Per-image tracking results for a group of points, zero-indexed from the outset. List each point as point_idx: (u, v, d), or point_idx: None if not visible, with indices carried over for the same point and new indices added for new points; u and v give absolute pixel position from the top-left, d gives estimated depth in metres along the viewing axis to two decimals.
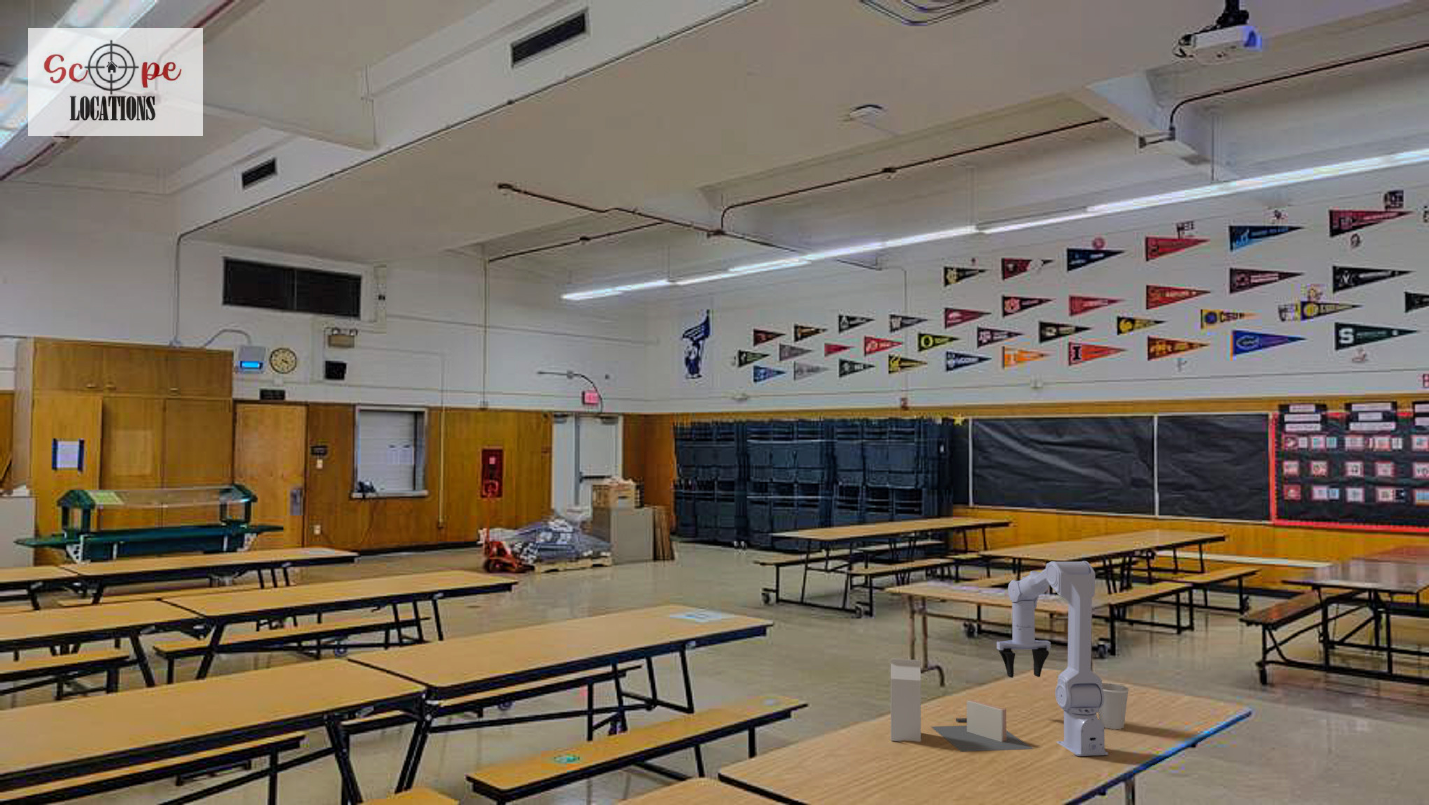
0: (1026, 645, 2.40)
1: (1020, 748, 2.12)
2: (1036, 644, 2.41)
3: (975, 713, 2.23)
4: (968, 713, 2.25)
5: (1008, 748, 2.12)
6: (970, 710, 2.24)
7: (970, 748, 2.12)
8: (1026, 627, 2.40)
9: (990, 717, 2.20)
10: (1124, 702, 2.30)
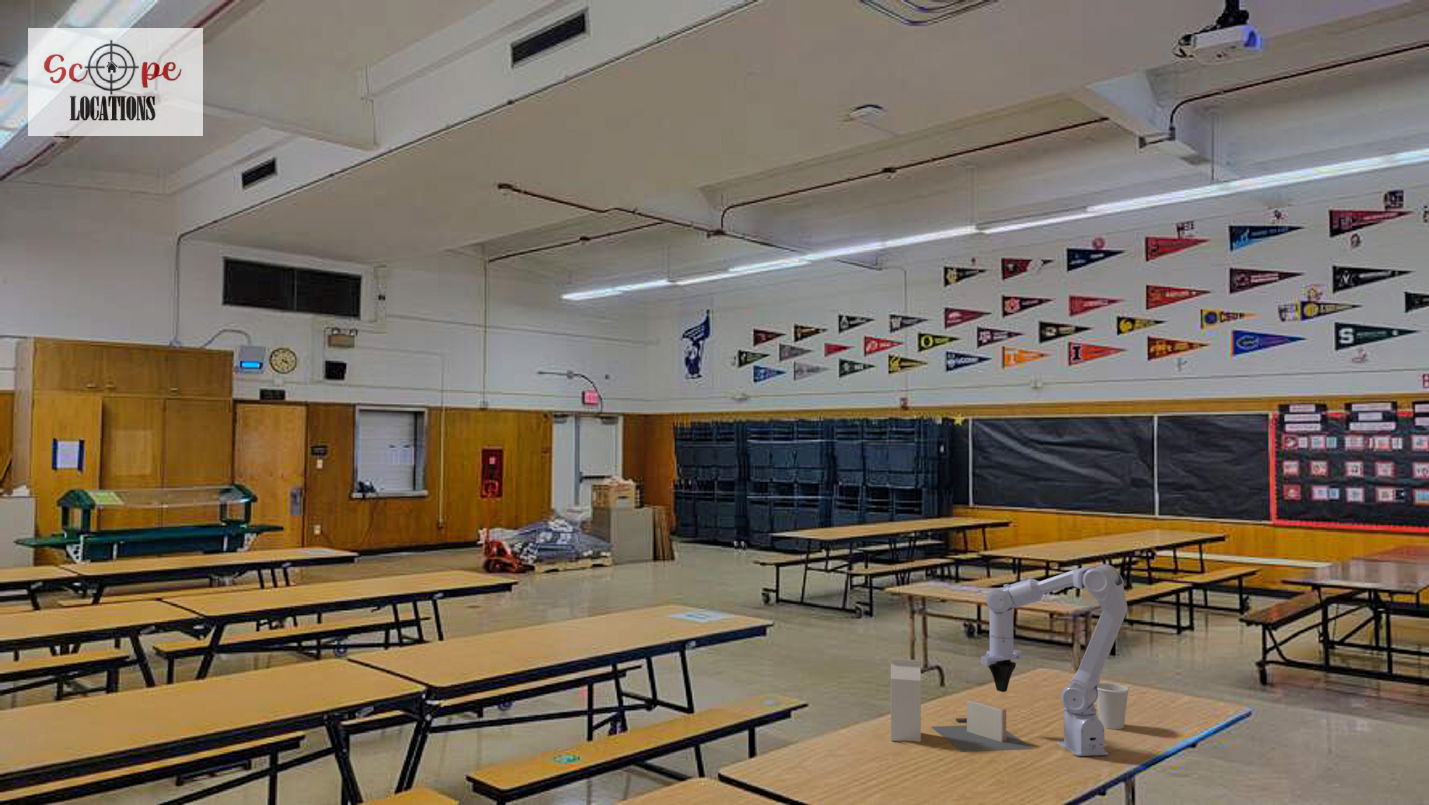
0: (1010, 657, 2.24)
1: (1020, 748, 2.12)
2: (1015, 655, 2.26)
3: (975, 713, 2.23)
4: (968, 713, 2.25)
5: (1008, 748, 2.12)
6: (970, 710, 2.24)
7: (970, 748, 2.12)
8: (1009, 638, 2.24)
9: (990, 717, 2.20)
10: (1124, 702, 2.30)
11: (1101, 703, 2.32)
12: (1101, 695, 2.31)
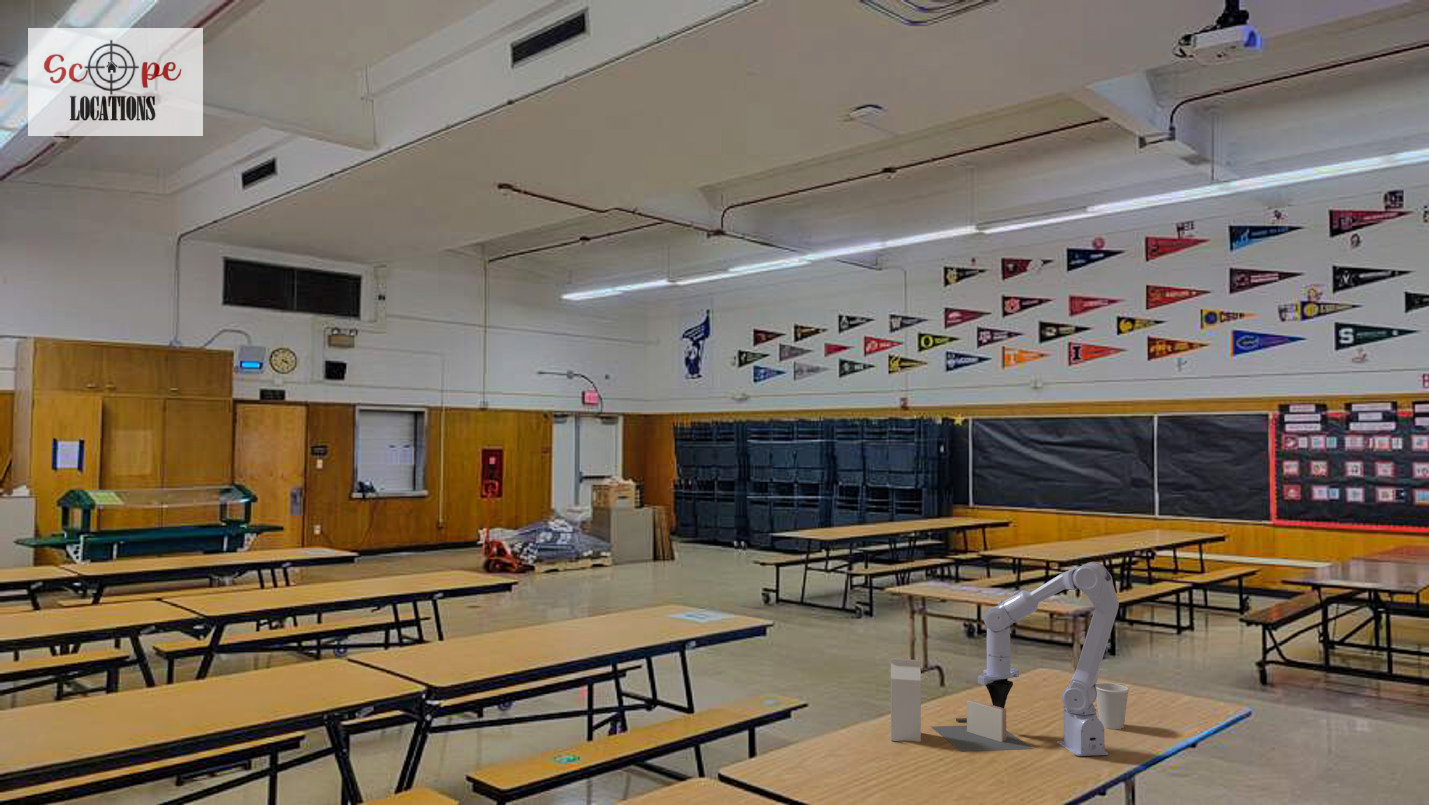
0: (1007, 676, 2.23)
1: (1020, 748, 2.12)
2: (1012, 674, 2.25)
3: (975, 713, 2.23)
4: (968, 713, 2.25)
5: (1008, 748, 2.12)
6: (970, 710, 2.24)
7: (970, 748, 2.12)
8: (1006, 657, 2.23)
9: (990, 717, 2.20)
10: (1124, 702, 2.30)
11: (1101, 703, 2.32)
12: (1101, 695, 2.31)
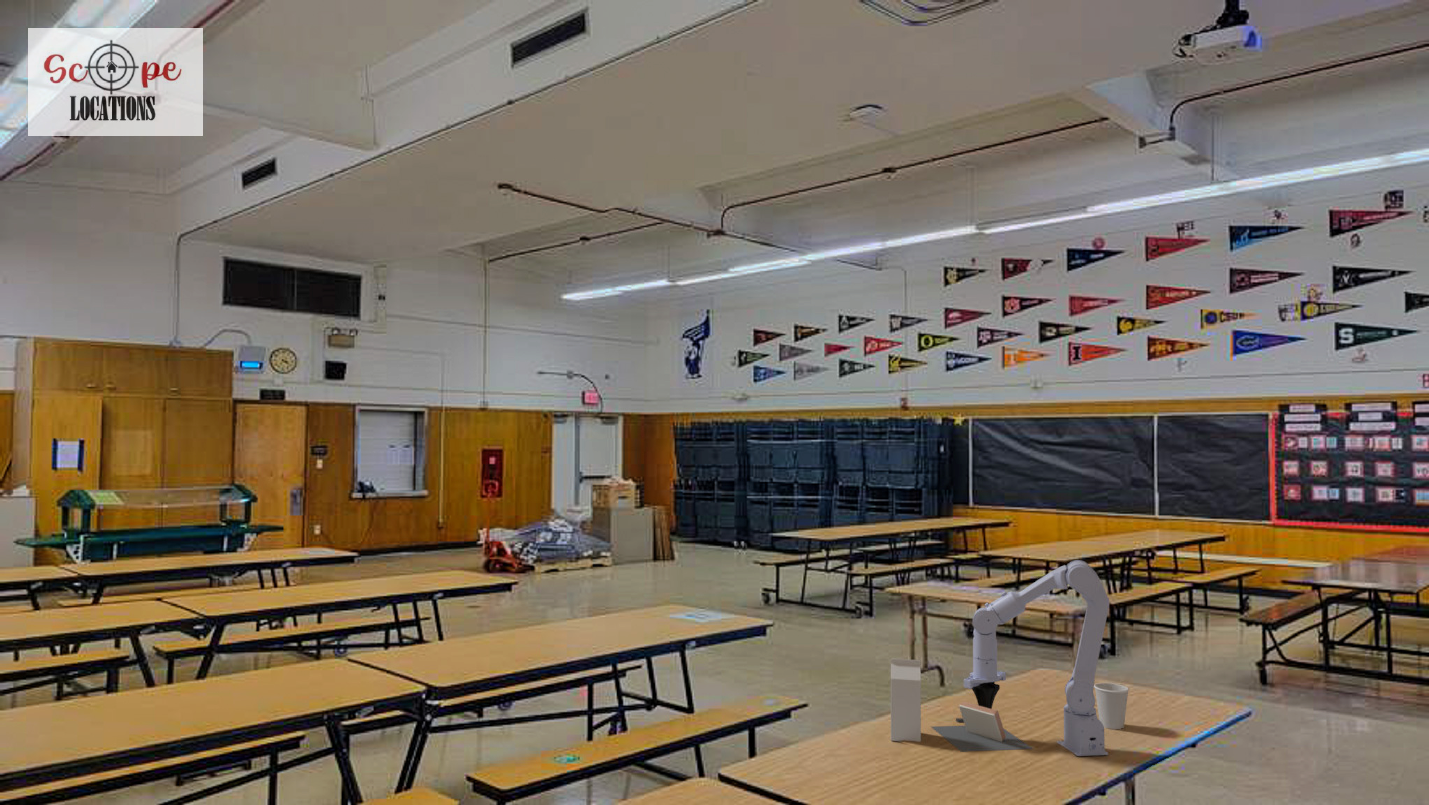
0: (993, 680, 2.19)
1: (1020, 748, 2.12)
2: (999, 677, 2.22)
3: (970, 716, 2.22)
4: (963, 716, 2.24)
5: (1008, 748, 2.12)
6: (964, 714, 2.23)
7: (970, 748, 2.12)
8: (993, 660, 2.20)
9: (985, 721, 2.18)
10: (1124, 702, 2.30)
11: (1101, 703, 2.32)
12: (1101, 695, 2.31)
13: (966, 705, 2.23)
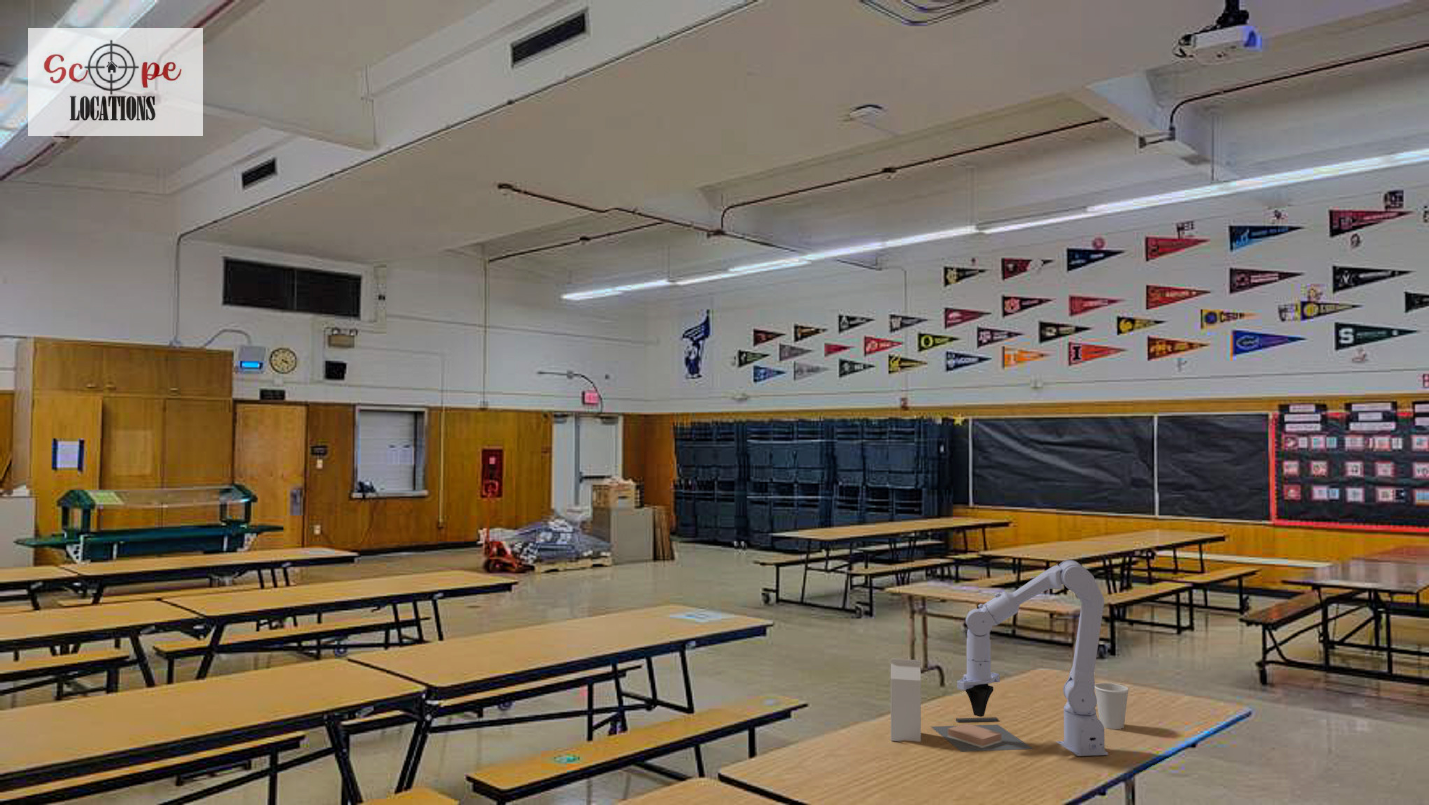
0: (987, 681, 2.18)
1: (1020, 748, 2.12)
2: (992, 678, 2.20)
3: None
4: None
5: (1008, 748, 2.12)
6: None
7: (970, 748, 2.12)
8: (986, 661, 2.18)
9: None
10: (1124, 702, 2.30)
11: (1101, 703, 2.32)
12: (1101, 695, 2.31)
13: (953, 735, 2.19)
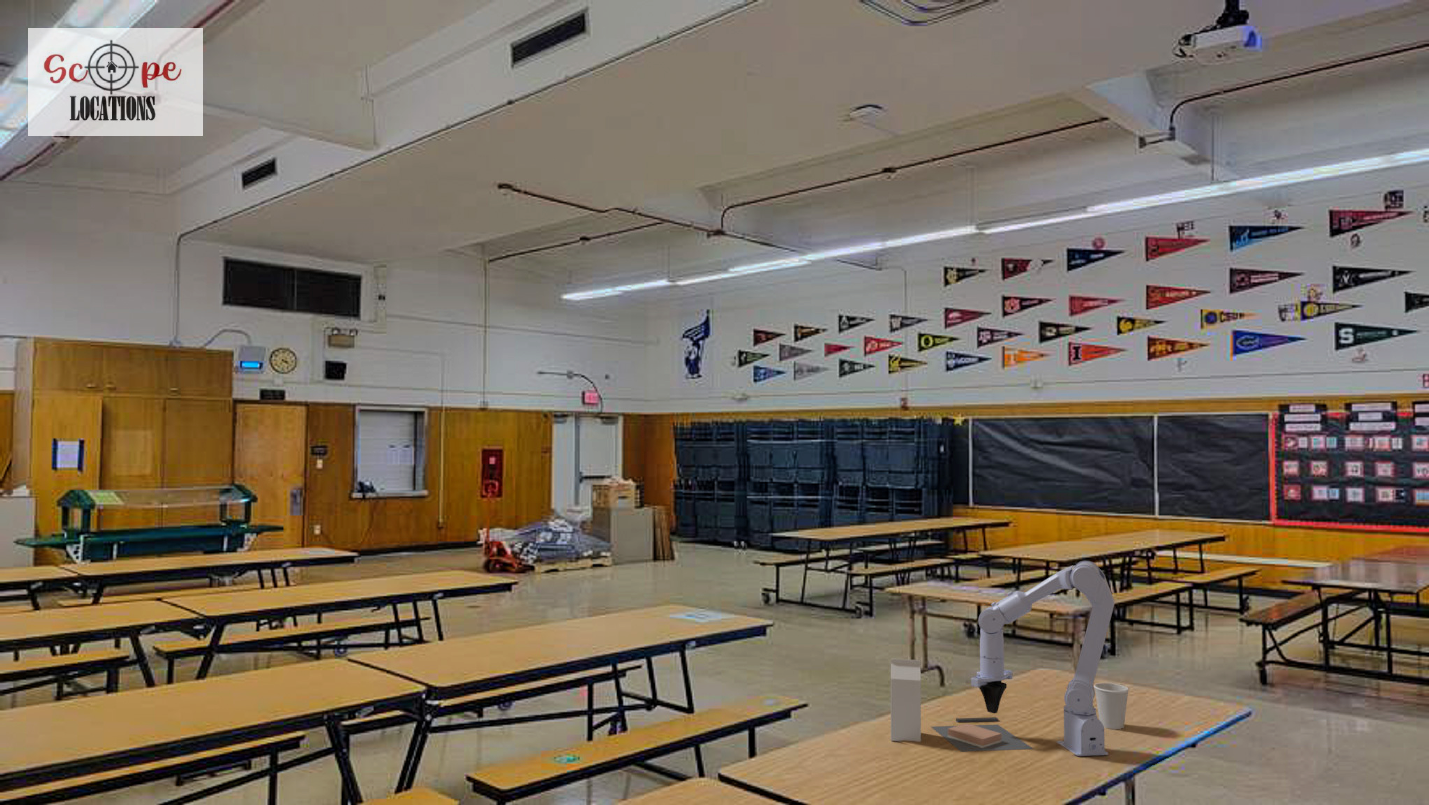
0: (1000, 678, 2.21)
1: (1020, 748, 2.12)
2: (1006, 675, 2.24)
3: None
4: None
5: (1008, 748, 2.12)
6: None
7: (970, 748, 2.12)
8: (1000, 659, 2.22)
9: None
10: (1124, 702, 2.30)
11: (1101, 703, 2.32)
12: (1101, 695, 2.31)
13: (953, 735, 2.19)
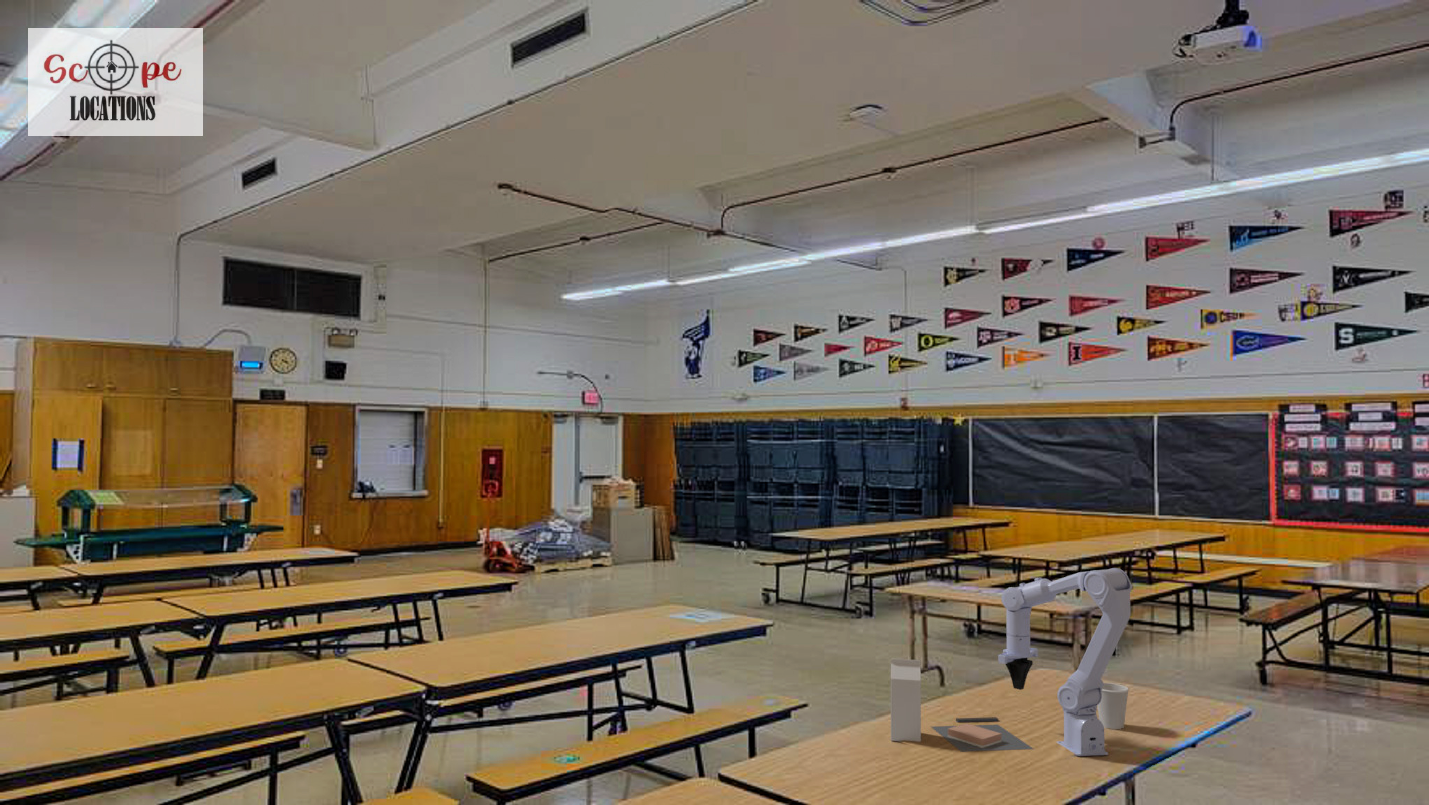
0: (1027, 655, 2.26)
1: (1020, 748, 2.12)
2: (1032, 653, 2.29)
3: None
4: None
5: (1008, 748, 2.12)
6: None
7: (970, 748, 2.12)
8: (1026, 636, 2.27)
9: None
10: (1124, 702, 2.30)
11: (1101, 703, 2.32)
12: None
13: (953, 735, 2.19)
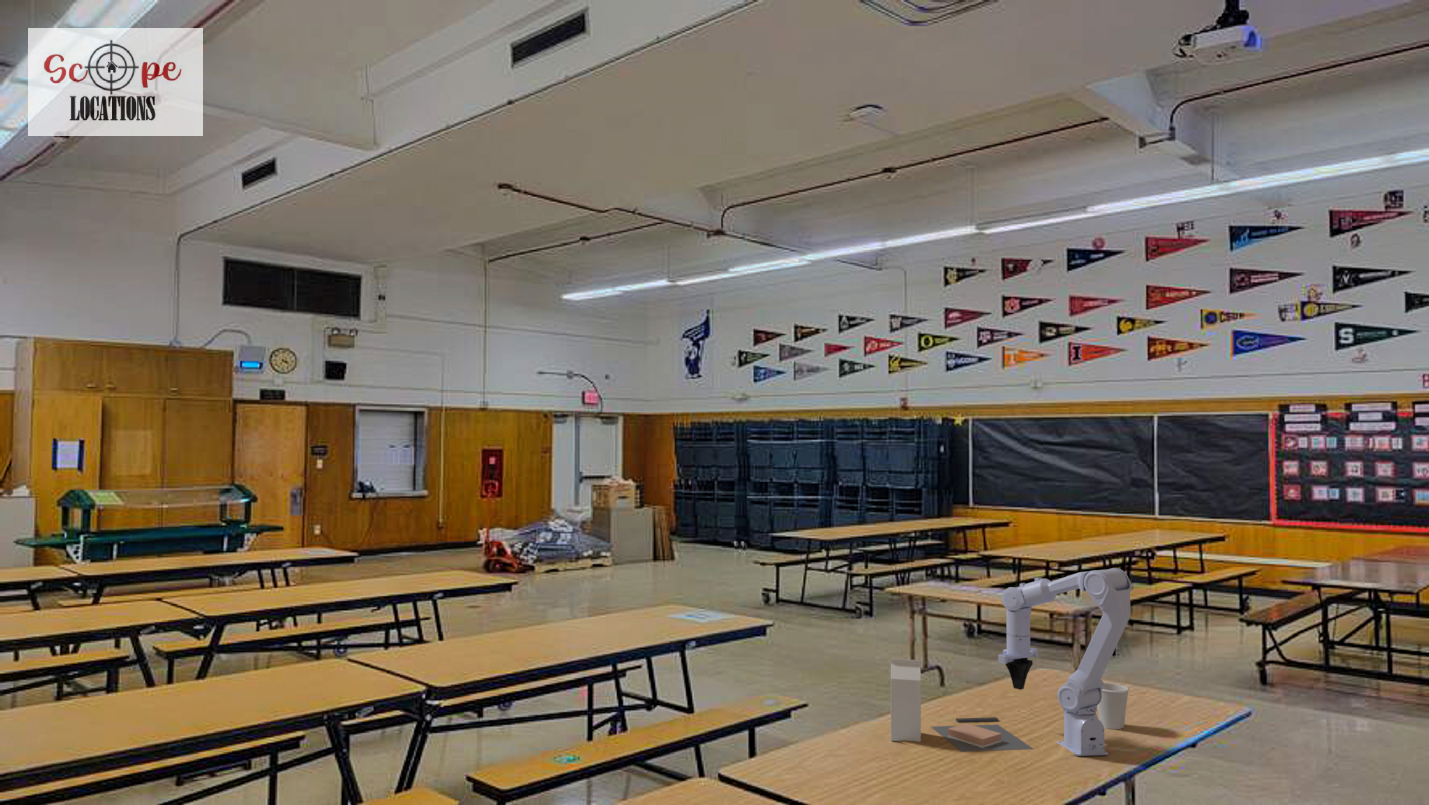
0: (1027, 655, 2.26)
1: (1020, 748, 2.12)
2: (1032, 653, 2.29)
3: None
4: None
5: (1008, 748, 2.12)
6: None
7: (970, 748, 2.12)
8: (1026, 636, 2.27)
9: None
10: (1124, 702, 2.30)
11: (1101, 703, 2.32)
12: None
13: (953, 735, 2.19)
